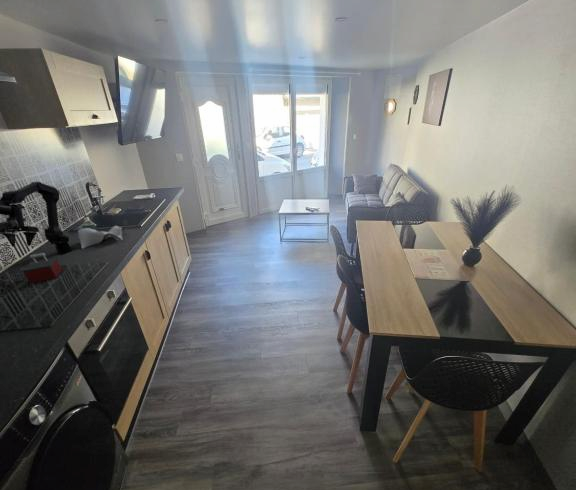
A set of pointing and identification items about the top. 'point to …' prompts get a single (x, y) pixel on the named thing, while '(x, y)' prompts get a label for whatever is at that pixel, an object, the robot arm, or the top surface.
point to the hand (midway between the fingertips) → (21, 246)
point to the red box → (44, 273)
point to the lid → (39, 263)
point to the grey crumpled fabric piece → (97, 235)
